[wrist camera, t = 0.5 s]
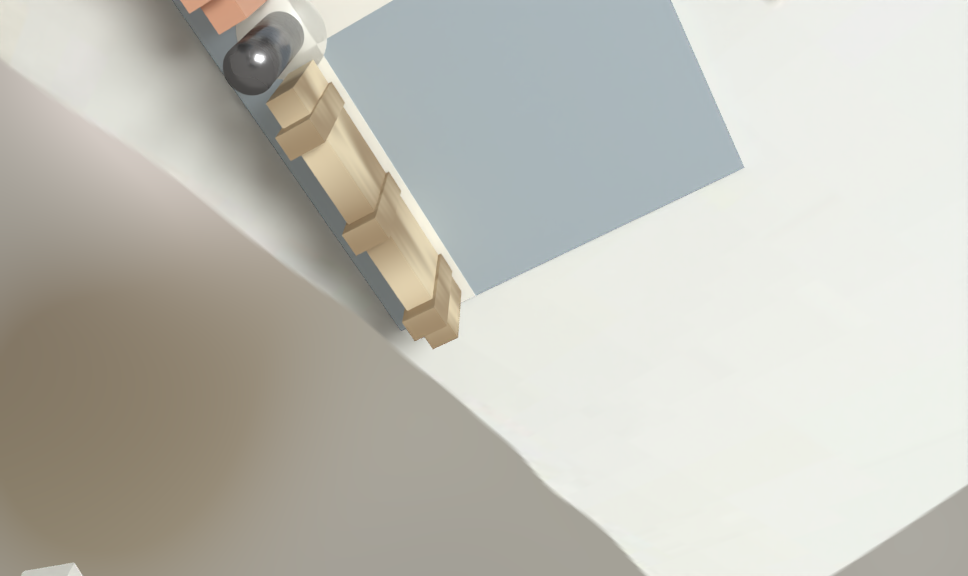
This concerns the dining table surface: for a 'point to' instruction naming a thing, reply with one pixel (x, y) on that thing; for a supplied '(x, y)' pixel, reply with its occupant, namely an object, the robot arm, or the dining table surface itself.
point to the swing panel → (224, 11)
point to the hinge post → (263, 53)
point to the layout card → (505, 119)
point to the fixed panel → (367, 202)
